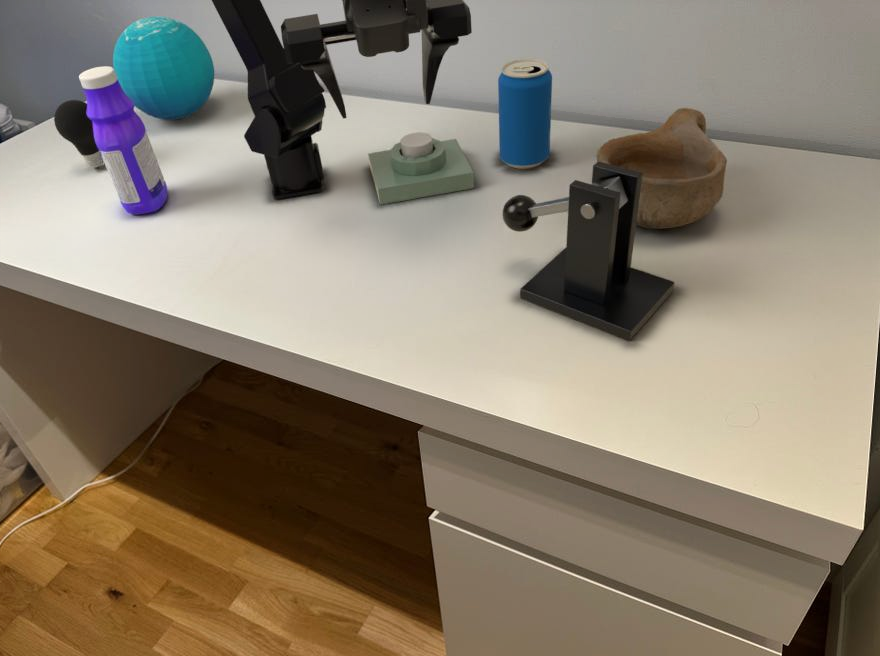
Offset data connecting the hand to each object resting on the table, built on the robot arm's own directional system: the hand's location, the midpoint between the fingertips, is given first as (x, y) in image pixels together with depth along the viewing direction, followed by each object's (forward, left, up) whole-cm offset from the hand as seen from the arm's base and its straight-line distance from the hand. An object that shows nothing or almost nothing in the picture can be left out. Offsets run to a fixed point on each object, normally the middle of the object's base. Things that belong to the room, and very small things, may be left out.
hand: (386, 109), depth 76 cm
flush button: (+4, +8, -9) cm, 13 cm away
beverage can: (+18, +8, -13) cm, 24 cm away
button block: (+4, +8, -13) cm, 16 cm away
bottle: (-32, +14, -13) cm, 37 cm away
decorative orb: (-30, +43, -13) cm, 54 cm away
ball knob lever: (+14, -19, -6) cm, 24 cm away
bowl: (+29, -8, -13) cm, 33 cm away
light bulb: (-41, +28, -13) cm, 51 cm away
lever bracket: (+16, -22, -13) cm, 30 cm away
